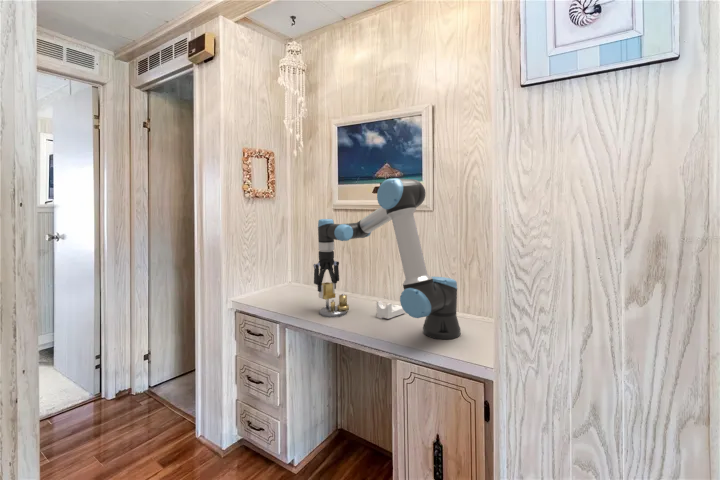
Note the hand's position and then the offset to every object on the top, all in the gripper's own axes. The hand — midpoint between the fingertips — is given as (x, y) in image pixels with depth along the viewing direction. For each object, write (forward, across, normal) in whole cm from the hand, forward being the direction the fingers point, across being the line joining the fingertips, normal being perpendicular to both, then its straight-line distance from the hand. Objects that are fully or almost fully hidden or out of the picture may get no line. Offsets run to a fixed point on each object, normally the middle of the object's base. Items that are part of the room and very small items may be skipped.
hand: (327, 296), depth 184 cm
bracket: (+7, -20, +26) cm, 33 cm away
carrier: (+7, 0, +5) cm, 9 cm away
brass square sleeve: (0, 0, 0) cm, 0 cm away
